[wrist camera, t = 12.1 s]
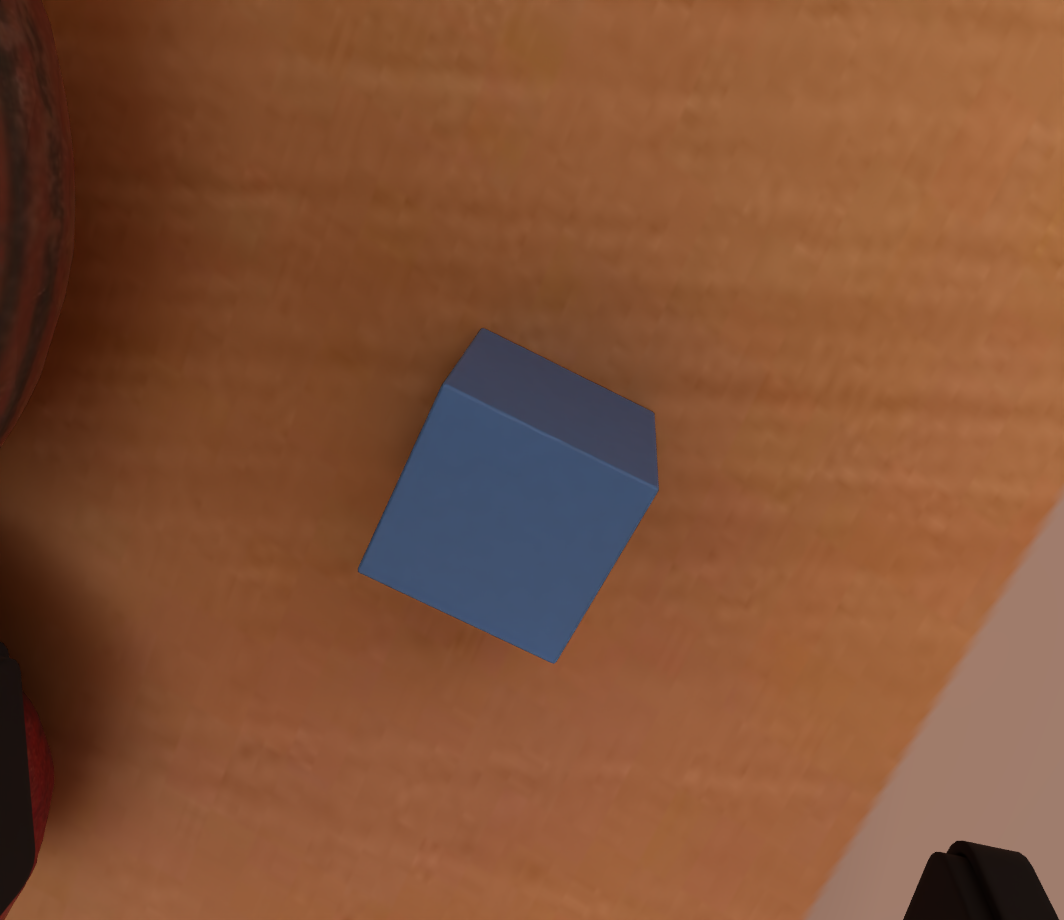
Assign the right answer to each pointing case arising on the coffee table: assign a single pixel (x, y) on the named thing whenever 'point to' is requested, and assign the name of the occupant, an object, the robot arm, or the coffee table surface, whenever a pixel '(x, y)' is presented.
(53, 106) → the bowl
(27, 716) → the fruit
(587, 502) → the blue cube
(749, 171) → the coffee table surface
